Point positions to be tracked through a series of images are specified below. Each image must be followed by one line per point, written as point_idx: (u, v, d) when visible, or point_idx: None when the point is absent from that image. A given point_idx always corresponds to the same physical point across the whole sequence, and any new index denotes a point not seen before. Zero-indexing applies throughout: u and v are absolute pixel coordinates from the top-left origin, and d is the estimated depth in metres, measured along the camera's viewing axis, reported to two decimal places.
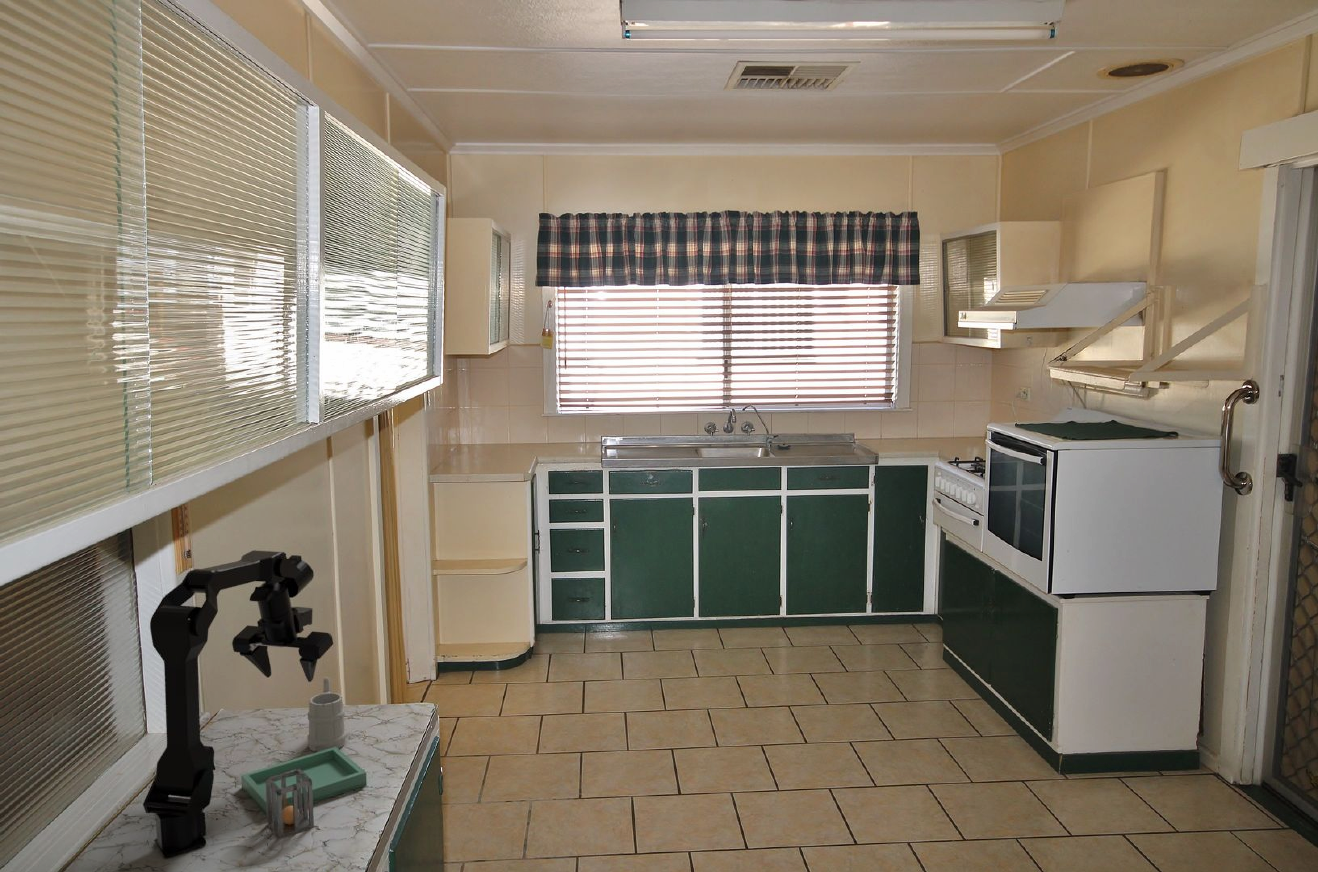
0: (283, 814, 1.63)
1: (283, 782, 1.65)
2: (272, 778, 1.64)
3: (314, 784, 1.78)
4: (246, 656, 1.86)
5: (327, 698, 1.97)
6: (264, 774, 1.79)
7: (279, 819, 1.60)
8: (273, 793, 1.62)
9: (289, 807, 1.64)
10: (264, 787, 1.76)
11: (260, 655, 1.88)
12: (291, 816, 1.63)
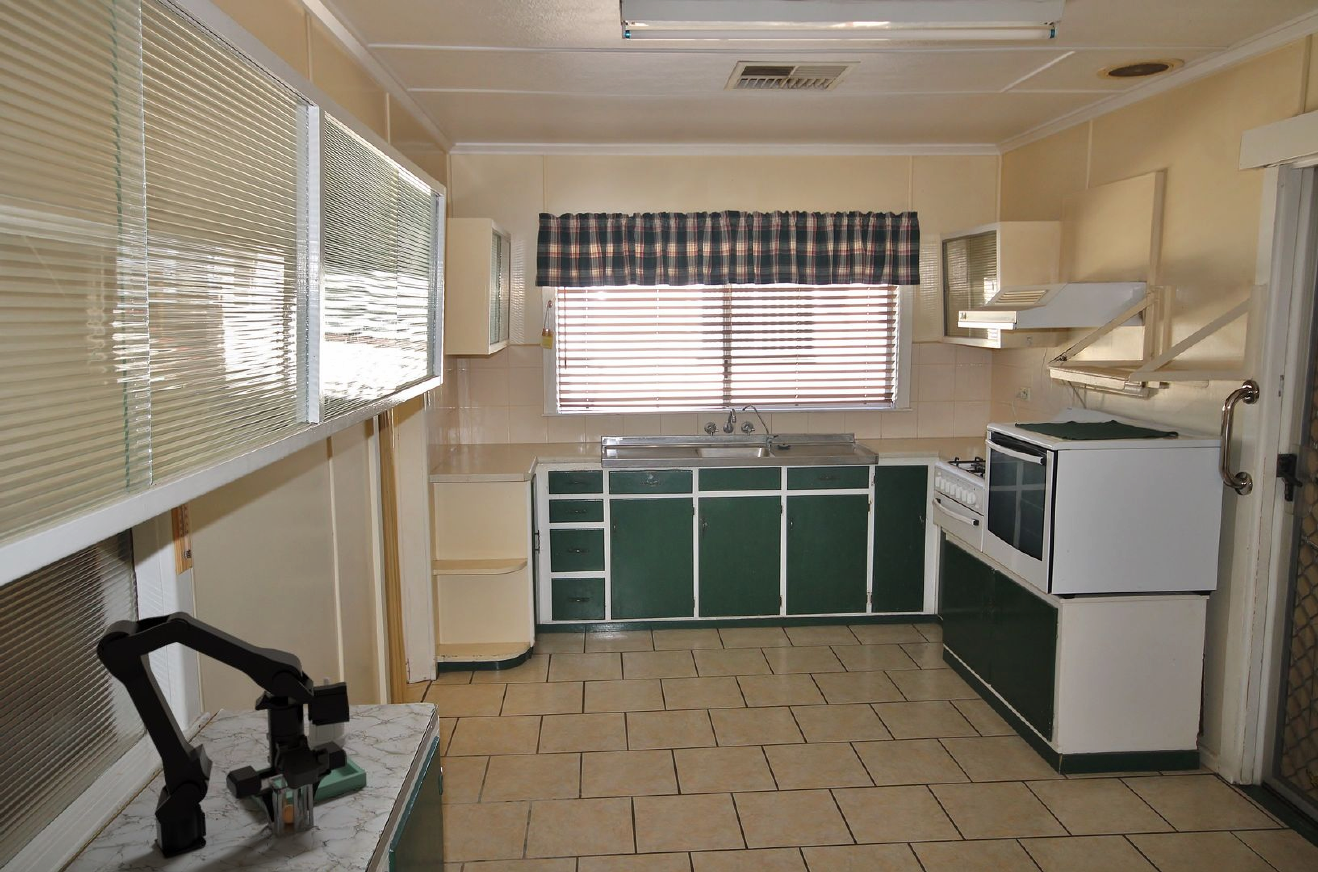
0: (283, 812, 1.64)
1: (283, 782, 1.65)
2: None
3: None
4: None
5: None
6: None
7: (279, 819, 1.60)
8: (273, 793, 1.62)
9: (289, 805, 1.65)
10: None
11: None
12: (291, 813, 1.64)
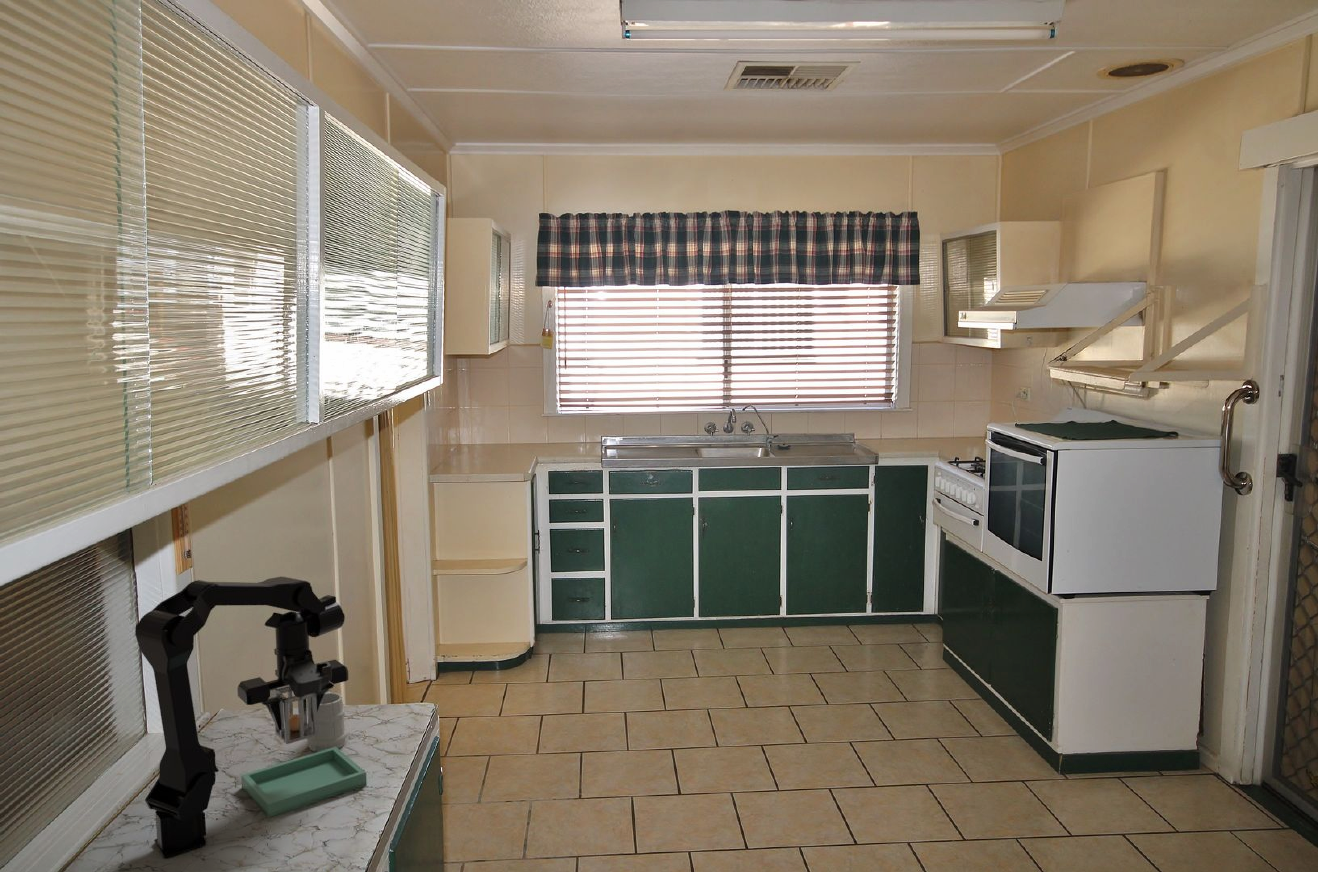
0: (290, 719, 1.79)
1: (290, 694, 1.80)
2: (279, 690, 1.79)
3: (314, 784, 1.78)
4: None
5: (327, 698, 1.97)
6: (264, 774, 1.79)
7: (286, 726, 1.75)
8: (280, 703, 1.76)
9: (295, 714, 1.80)
10: (264, 787, 1.76)
11: None
12: (297, 718, 1.79)
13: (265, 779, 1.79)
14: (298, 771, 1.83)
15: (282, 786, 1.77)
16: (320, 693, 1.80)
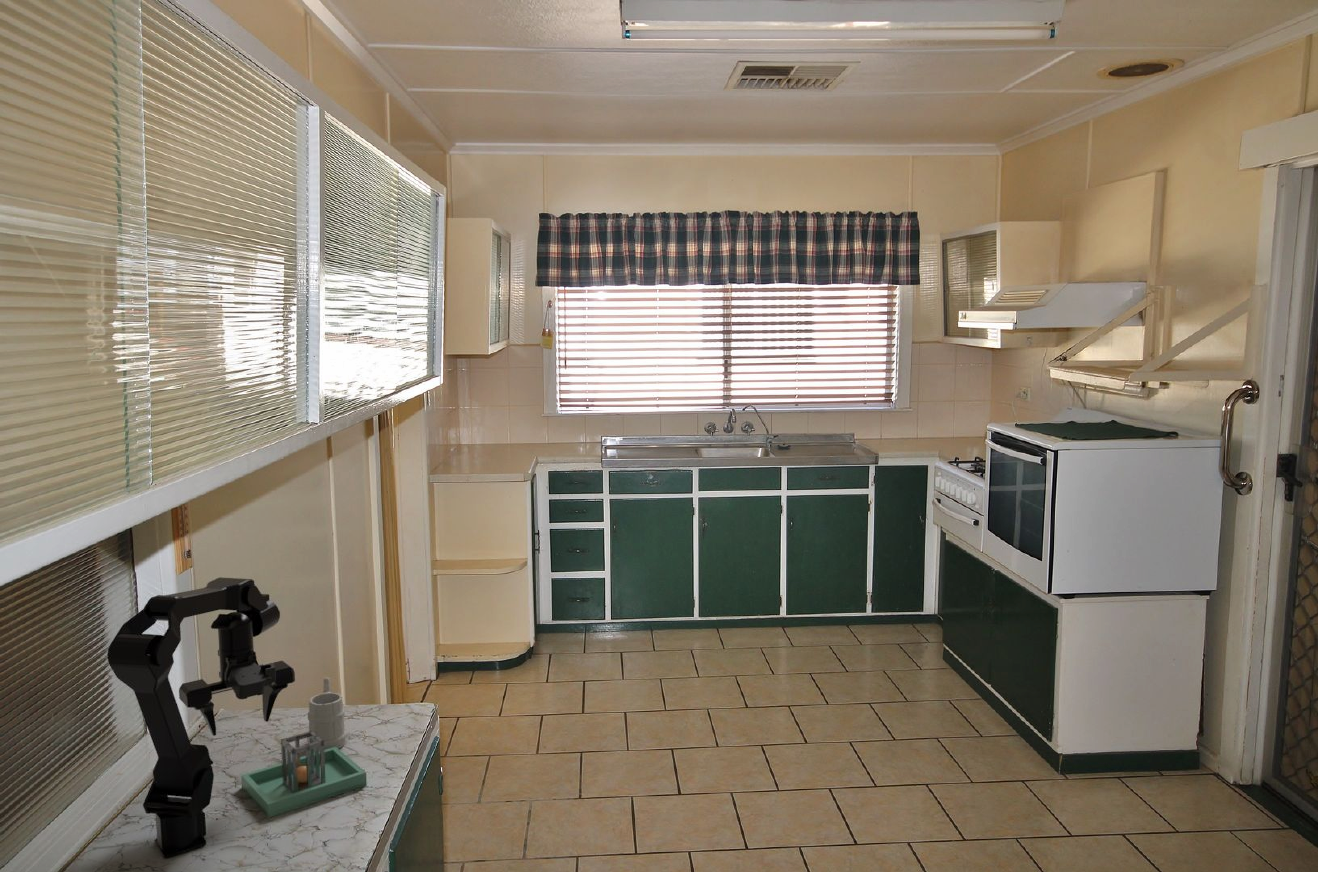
0: (298, 775, 1.76)
1: (297, 743, 1.79)
2: (287, 739, 1.77)
3: None
4: None
5: (327, 698, 1.97)
6: (264, 774, 1.79)
7: (294, 776, 1.74)
8: (288, 753, 1.75)
9: (302, 767, 1.77)
10: (264, 787, 1.76)
11: (265, 691, 1.78)
12: (306, 775, 1.76)
13: (265, 779, 1.79)
14: None
15: (282, 786, 1.77)
16: (274, 693, 1.77)
